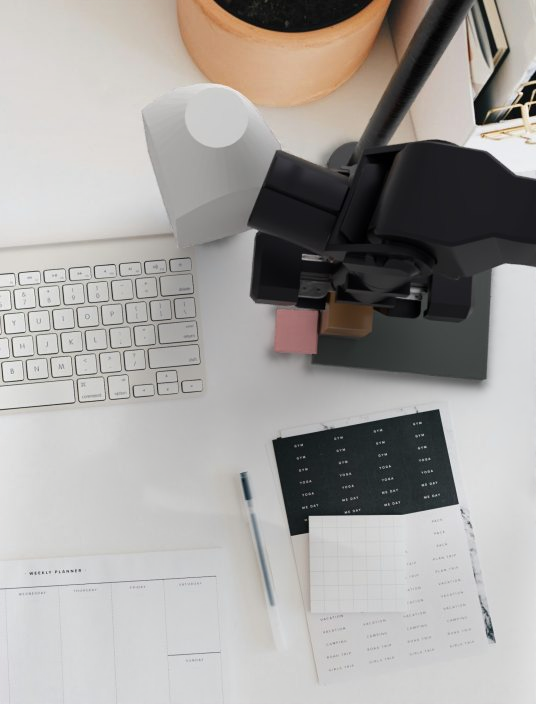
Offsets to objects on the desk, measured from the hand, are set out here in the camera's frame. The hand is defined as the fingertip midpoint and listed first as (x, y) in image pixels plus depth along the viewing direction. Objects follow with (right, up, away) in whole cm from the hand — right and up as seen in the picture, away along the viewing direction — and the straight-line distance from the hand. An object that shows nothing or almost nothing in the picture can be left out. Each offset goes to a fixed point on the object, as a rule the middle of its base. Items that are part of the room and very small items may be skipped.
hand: (343, 296), depth 71 cm
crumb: (-4, -3, +1) cm, 6 cm away
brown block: (0, 0, +1) cm, 1 cm away
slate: (+6, -1, +2) cm, 6 cm away
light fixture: (-13, +9, +2) cm, 16 cm away
